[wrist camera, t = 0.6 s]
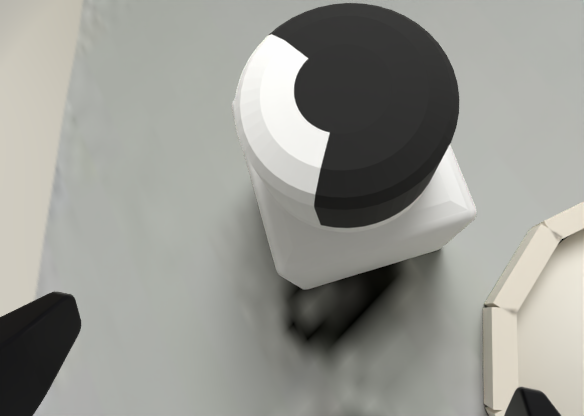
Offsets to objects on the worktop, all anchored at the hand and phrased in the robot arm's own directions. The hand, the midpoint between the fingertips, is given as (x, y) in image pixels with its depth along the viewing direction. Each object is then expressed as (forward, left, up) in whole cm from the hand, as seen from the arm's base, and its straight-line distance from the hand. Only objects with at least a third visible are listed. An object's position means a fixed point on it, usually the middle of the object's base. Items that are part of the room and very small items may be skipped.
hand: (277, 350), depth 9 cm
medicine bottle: (+5, -4, -14) cm, 15 cm away
